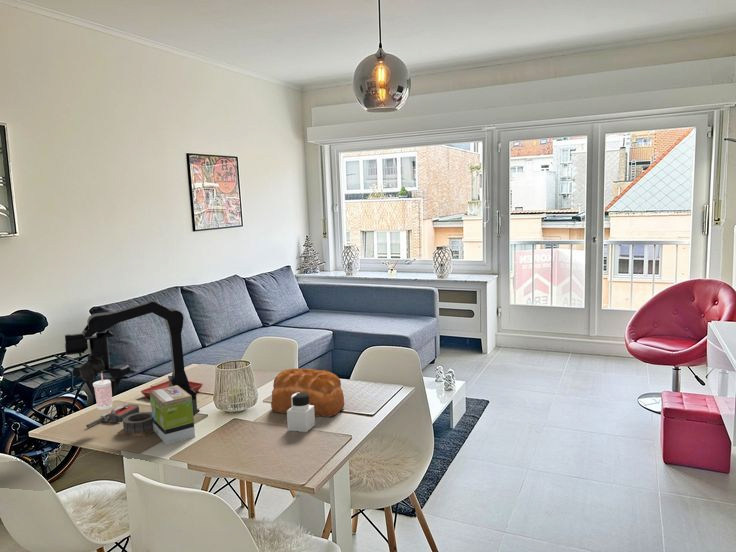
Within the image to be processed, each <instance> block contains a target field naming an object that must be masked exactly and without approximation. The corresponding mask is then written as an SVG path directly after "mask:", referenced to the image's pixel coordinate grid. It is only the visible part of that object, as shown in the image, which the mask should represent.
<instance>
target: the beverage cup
mask: <svg viewBox="0 0 736 552" xmlns="http://www.w3.org/2000/svg"><path fill="white" fill-rule="evenodd" d="M103 374H104V373H100V378H101V379H100V380H96V382H94V383H93V387H94V390H95V394H94V395H95V396H94V397H95V400H96V406H97V410H99V411H100V410H103V411H104V410H108V409H111V408H112V407H113V395H112V390H111V381H110V380H109V379H104V376H103Z"/></svg>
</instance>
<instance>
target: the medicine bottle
mask: <svg viewBox="0 0 736 552" xmlns="http://www.w3.org/2000/svg"><path fill="white" fill-rule="evenodd" d="M291 404H292V407H291V408H290V409H289V410H287V413H286V420H287V421H286V422H287V431H290V432H297V431H298V432H299V433H307V432H309V431H310V430H311V429H312V428H313V427H314V426H316V418H315V413H314V405H309V395H308V394H307V393H304V392H299V393H295V394H293V395H292V396H291ZM308 430H309V431H308Z"/></svg>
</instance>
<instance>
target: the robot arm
mask: <svg viewBox="0 0 736 552" xmlns="http://www.w3.org/2000/svg"><path fill="white" fill-rule="evenodd" d="M148 314H154V315H156V316H158V317H159V318H162V319H163V320H164V324H165V326H166V329H167V332H168V334H169V346H170V347H169V348H170V355H171V365H172V372H171V375H168V376H167V379H168V381H169V387H171V386H176V385H178V386H179V387H180V388H182V389H183V390H184V391H186V392H187V393H188V394H190V395H191V396H192V404H193V416H195V413H196V414H197V413H198V412H200V409H199V408H198V403H197V402H198V401H197V395H198V393H197V392H195V391H194V390H193V389H192V388H191V387H190V385H189V382H188V381H189V380H188V379H189V378H188V376H187V374H186V371H185V370H186V369H185V361H184V351H183V350H184V349H183V340H182V339H183V338H182V332H183V328H184V314H183V313H182V312H181V311H180V310H178V309H177V308H174V307H173V308H168V307H166V306H164V305H162V304H159V303H158V302H156V301H155V300H148V301H145V302H142V303H139V304H137V305H133V306H130V307H126V308H123V309H120V310H116V311H109V312H108V311H107V312H97V313H92V314H90V315H89V317H88V318H87V321H86V322H87V323H86V324H87V325H86V326H85V327H84V329H82V332H81V333H73V334H70V333H69V334H64V341H65V343H64V349H65V356H71V355H80V354H85V352H86V351H87V350H89V351H90V354H89V355H87V361H86V362H85V363H82V364H80V365H77V366H74V367H73V369H72V377H77V378H78V379H80V380H82V381H84V382H85V384H86V386H87V388H88V390H89V392H90V393H91V395H95V390H94V387H93V383H94V382H96V381H97V374H101V373H102V374H109V375H110V376H109V377H108V379H107V380H110V381H111V390H112V396H115V395H116V393H117V390H118V388H119V386H120V383H121V381H122V378H123V377H125V376H126V375H128V374H130V373H131V367H130V366H129V364H118V365H115V366H113V362H111V359H110V355H112V351H109V350H110V349H109V348H110V347H109V339H108V338H111V337H114V333H113V332H111V331H110V330H109V329H110V328H112V327H113V326H115V325H117V324H119V323H122V322H126V321H130V320H132V319H135V318H138V317H143V316H145V315H148ZM88 342H89V344H88ZM88 345H89V346H88Z"/></svg>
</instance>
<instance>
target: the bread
mask: <svg viewBox="0 0 736 552" xmlns="http://www.w3.org/2000/svg"><path fill="white" fill-rule="evenodd" d="M299 392H304V393H307V394H308V395H309V405H314V413H315V416H316V417H334V416H335V415H337V414H338V413H339V412H341V411H342V410H343V409H344V407H345V398H344V397H345V396H344V392H343V389H342V383H341V378H340V377H339V376H338V375H336V374H335V373H333V372H331V371H329V370H327V369H325V370H323V369H322V370H320V369H319V370H317V369H314V368H289V369H284V370H282V371H281V372H279V373H278V374H277V375H276V376H275V378H274V380H273V389H272V391H271V403H270V407H271V409H272V410H273V412H275V413H283V414H284V413H285V414H287V410H289V409H290V408H291V407H292V404H291V396H292V395H293V394H295V393H299ZM340 410H341V411H340Z"/></svg>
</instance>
